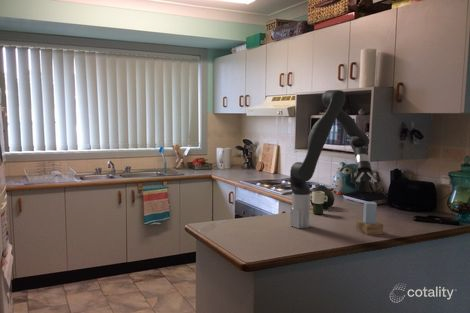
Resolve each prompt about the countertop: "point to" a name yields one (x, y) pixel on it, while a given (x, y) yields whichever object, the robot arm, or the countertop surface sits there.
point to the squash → (329, 195)
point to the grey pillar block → (369, 212)
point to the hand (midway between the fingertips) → (367, 189)
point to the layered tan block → (369, 228)
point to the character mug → (318, 201)
